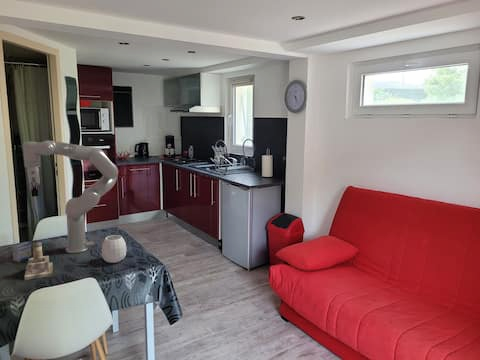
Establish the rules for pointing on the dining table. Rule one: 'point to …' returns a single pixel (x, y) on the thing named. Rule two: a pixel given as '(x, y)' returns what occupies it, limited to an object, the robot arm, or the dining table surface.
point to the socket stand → (38, 268)
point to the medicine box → (22, 251)
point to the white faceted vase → (113, 249)
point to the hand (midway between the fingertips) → (35, 194)
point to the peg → (37, 252)
